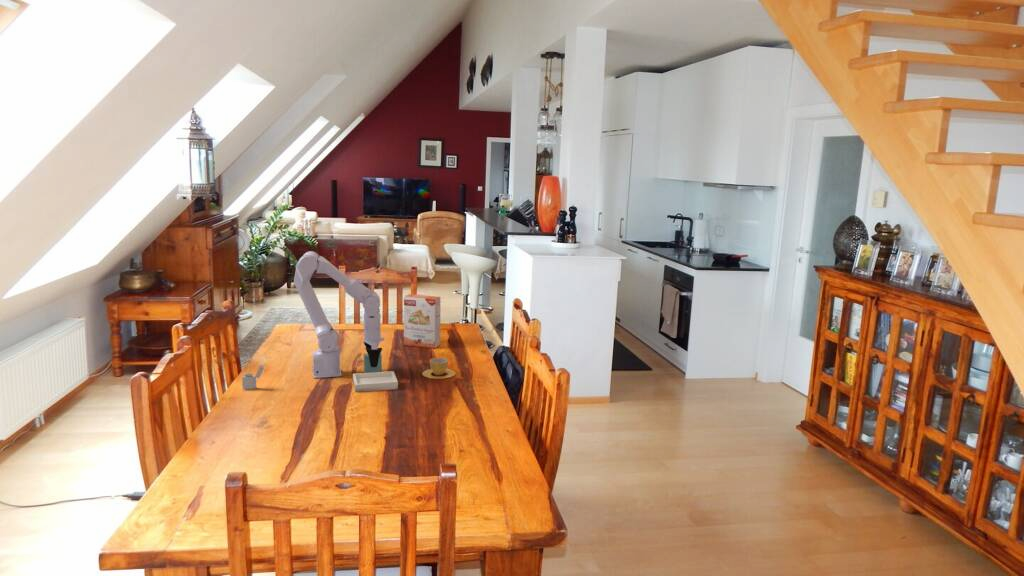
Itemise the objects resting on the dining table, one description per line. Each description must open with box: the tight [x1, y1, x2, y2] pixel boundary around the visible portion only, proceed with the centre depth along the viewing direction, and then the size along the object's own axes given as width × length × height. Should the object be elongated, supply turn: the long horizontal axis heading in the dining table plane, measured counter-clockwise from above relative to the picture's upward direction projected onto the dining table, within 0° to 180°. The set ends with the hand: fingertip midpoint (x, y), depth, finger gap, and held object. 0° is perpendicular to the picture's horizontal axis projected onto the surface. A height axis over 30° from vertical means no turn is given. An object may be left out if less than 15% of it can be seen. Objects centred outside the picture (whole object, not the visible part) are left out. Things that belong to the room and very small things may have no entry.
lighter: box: [241, 364, 266, 390], centre depth 231 cm, size 7×2×8 cm, turn 99°
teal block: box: [363, 352, 383, 373], centre depth 250 cm, size 6×3×7 cm, turn 106°
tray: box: [352, 370, 399, 393], centre depth 238 cm, size 14×12×2 cm
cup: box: [421, 357, 457, 380], centre depth 251 cm, size 12×12×5 cm
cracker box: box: [403, 293, 441, 350], centre depth 285 cm, size 14×6×21 cm, turn 73°
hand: (373, 363), depth 250 cm, fingers open, 7 cm apart
